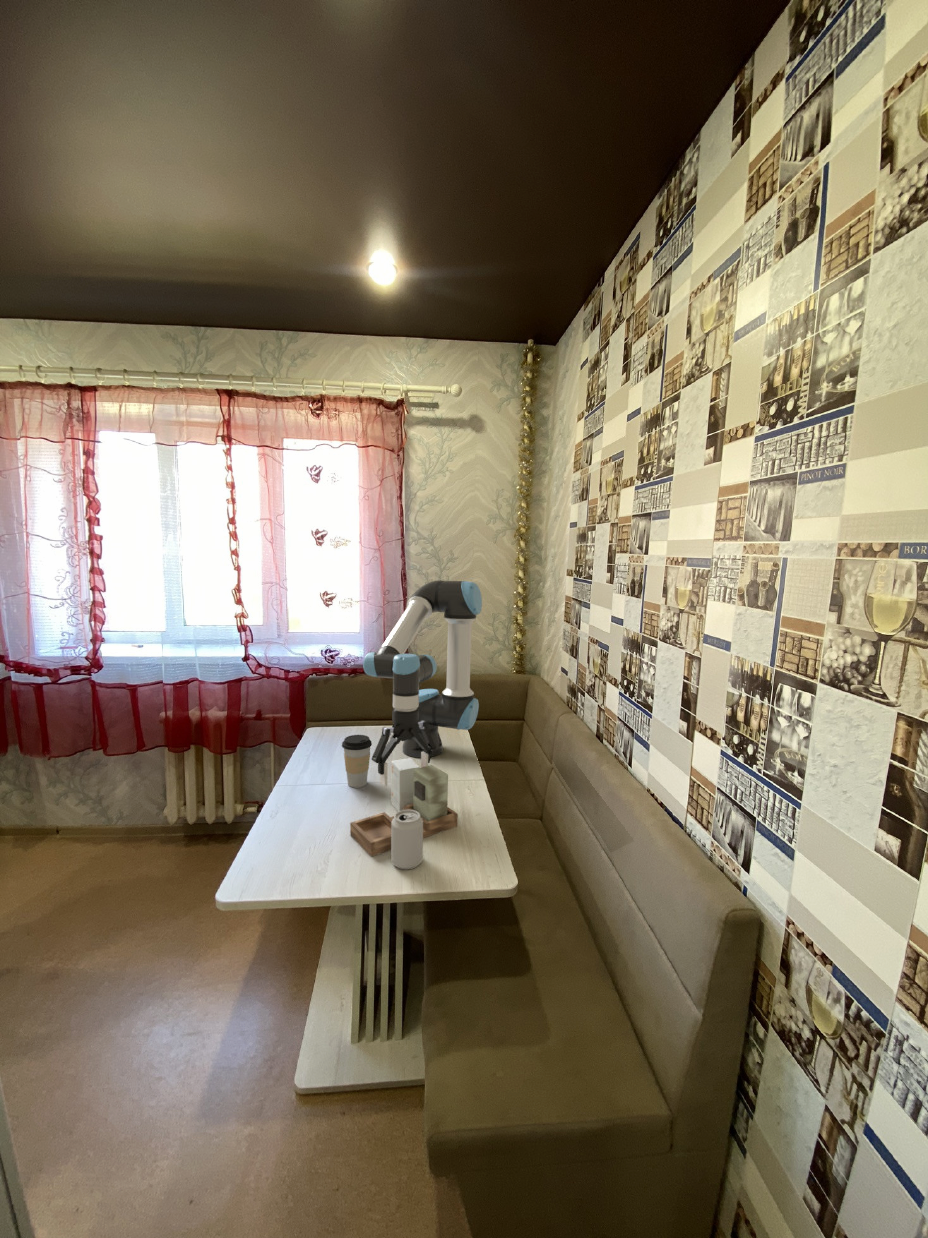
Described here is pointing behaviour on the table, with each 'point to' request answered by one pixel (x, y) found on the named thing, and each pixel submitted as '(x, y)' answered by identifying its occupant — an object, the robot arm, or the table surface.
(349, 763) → the coffee cup
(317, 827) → the table surface
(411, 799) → the small box
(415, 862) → the can
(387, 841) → the brown divided tray
